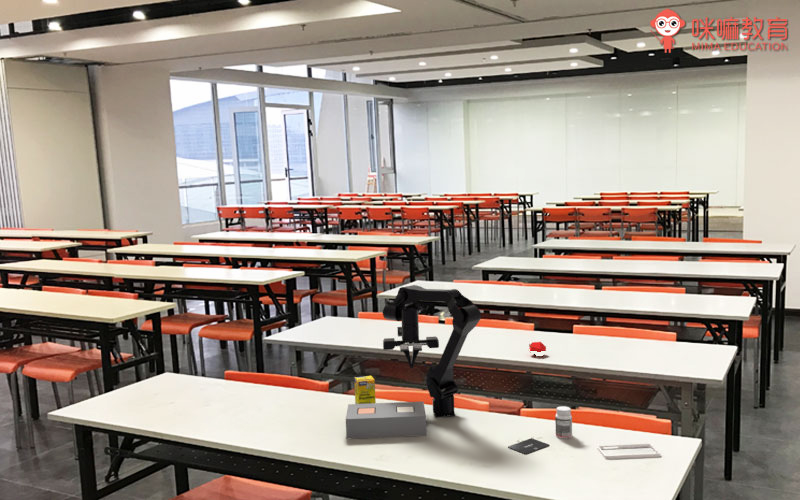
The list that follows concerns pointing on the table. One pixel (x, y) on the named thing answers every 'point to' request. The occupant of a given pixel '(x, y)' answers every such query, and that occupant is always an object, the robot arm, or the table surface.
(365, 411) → the terracotta key
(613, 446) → the phone case
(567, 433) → the pill bottle
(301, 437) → the table surface
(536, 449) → the solid state drive
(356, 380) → the supplement box
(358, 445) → the table surface
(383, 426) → the key console
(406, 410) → the ivory key
